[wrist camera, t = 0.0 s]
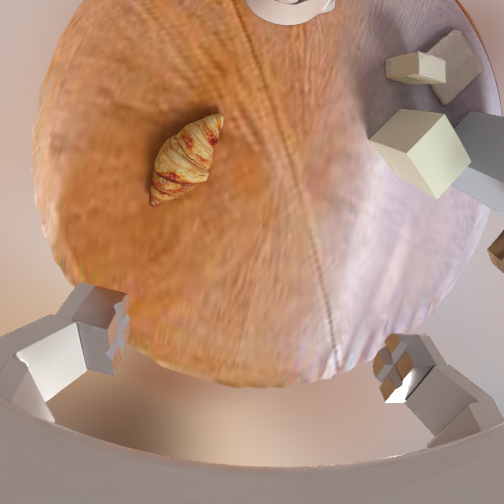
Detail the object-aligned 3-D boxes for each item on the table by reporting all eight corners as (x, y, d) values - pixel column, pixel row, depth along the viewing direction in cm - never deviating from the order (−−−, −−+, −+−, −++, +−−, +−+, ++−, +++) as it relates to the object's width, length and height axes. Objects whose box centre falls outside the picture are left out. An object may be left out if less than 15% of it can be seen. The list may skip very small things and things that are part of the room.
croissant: (211, 105, 51) (189, 92, 43) (248, 134, 49) (230, 122, 42) (149, 191, 58) (123, 189, 50) (179, 223, 56) (154, 225, 49)
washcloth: (479, 68, 42) (487, 68, 39) (441, 107, 47) (449, 108, 45) (451, 26, 38) (459, 24, 35) (409, 62, 43) (417, 61, 41)
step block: (396, 176, 54) (436, 199, 41) (368, 140, 51) (406, 153, 38) (426, 145, 51) (471, 161, 38) (400, 108, 48) (444, 114, 34)
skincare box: (384, 78, 45) (417, 74, 34) (384, 57, 43) (417, 50, 32) (411, 85, 45) (446, 84, 34) (411, 65, 43) (446, 60, 32)
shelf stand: (451, 185, 55) (529, 233, 32) (431, 152, 52) (518, 190, 29) (487, 144, 50) (567, 176, 27) (469, 110, 46) (556, 131, 23)
